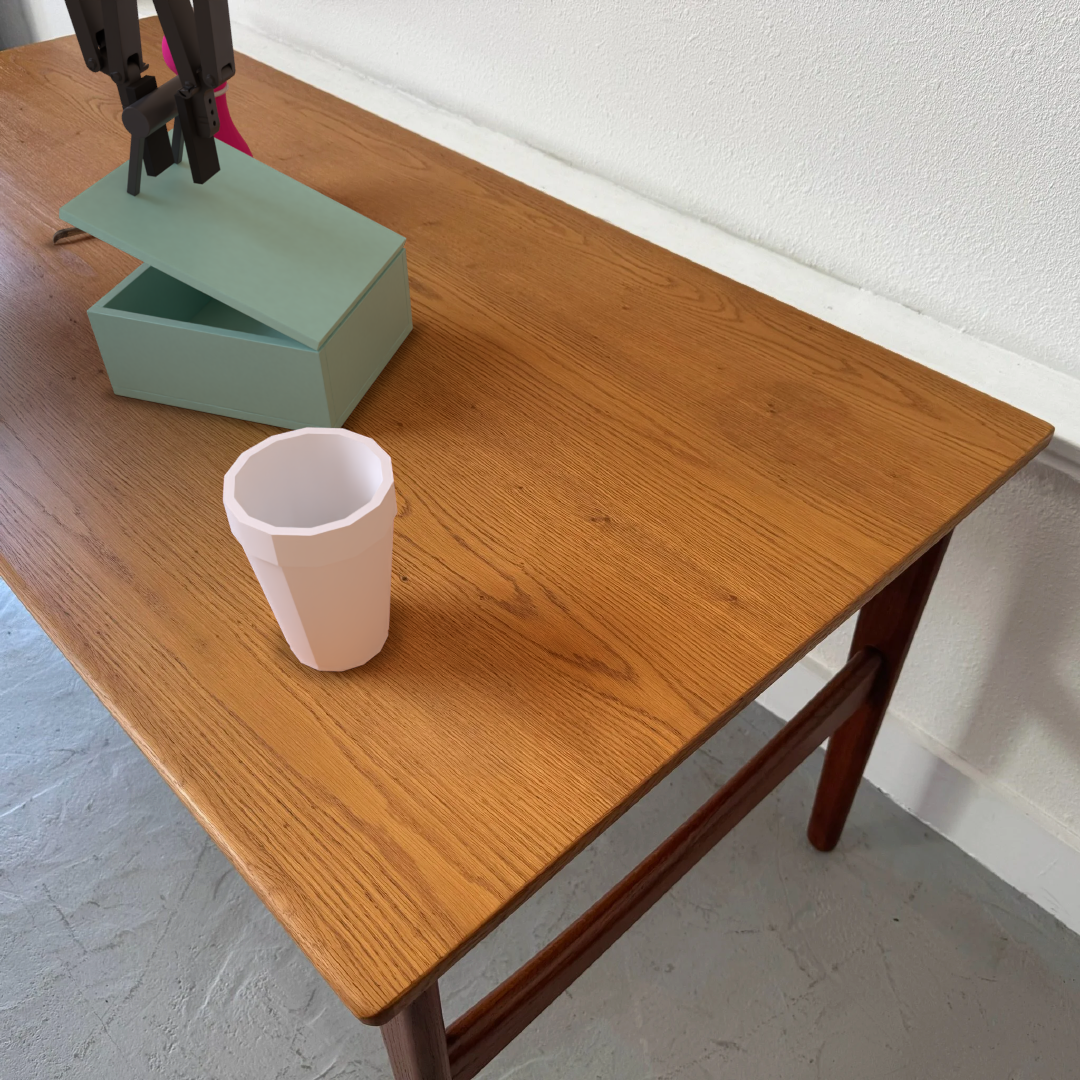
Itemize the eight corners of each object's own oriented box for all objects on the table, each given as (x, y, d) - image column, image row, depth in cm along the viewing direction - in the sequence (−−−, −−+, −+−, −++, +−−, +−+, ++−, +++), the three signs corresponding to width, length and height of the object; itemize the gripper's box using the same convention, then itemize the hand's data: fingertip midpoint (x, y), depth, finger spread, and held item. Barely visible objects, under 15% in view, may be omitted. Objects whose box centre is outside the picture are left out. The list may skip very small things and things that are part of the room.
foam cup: (421, 584, 69) (404, 429, 60) (403, 693, 63) (381, 537, 54) (281, 580, 70) (244, 425, 61) (248, 688, 63) (201, 532, 54)
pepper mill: (245, 186, 114) (205, -12, 100) (274, 210, 110) (237, 7, 96) (182, 203, 111) (133, 1, 97) (210, 229, 106) (162, 22, 93)
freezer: (114, 394, 85) (85, 310, 80) (217, 295, 97) (198, 215, 91) (333, 438, 81) (319, 352, 76) (413, 328, 93) (405, 247, 87)
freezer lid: (58, 218, 74) (61, 118, 69) (182, 130, 86) (192, 38, 80) (317, 351, 76) (340, 263, 70) (404, 246, 87) (430, 164, 81)
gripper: (250, -202, 64) (303, 168, 80) (23, -220, 67) (118, 139, 83) (187, -182, 58) (257, 209, 74) (-57, -202, 61) (61, 177, 78)
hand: (184, 172), depth 79 cm, fingers open, 3 cm apart
